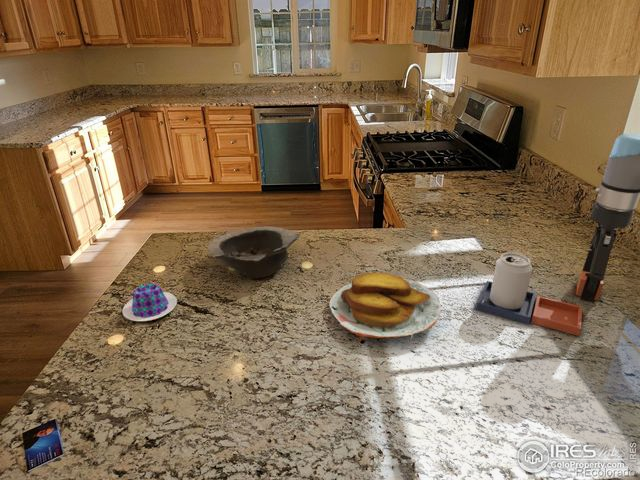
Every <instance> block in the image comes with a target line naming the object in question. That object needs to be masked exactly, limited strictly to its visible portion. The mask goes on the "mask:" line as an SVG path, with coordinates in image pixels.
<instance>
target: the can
mask: <svg viewBox="0 0 640 480" xmlns="http://www.w3.org/2000/svg"><path fill="white" fill-rule="evenodd" d="M532 272H533V266H532V264H531V259H530V258H529V257H527V256H526V255H524V254H521V253H517V252H504V253H502V254H501V255H500V257H499V258H497V260H496V262H495V268H494V272H493V277H492V281H491V282H492V287H491V292H490V300H491V301H492V302H493V303H494V304H495V305H496V306H497V307H499V308H503V309H506V310H516V309H519V308H521V307H522V306H523V305H524V302H525V297H526V293H527V291H528V289H529V284H530V281H531V276H532Z"/></svg>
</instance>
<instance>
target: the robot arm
mask: <svg viewBox="0 0 640 480" xmlns="http://www.w3.org/2000/svg"><path fill="white" fill-rule="evenodd" d="M595 193H597V197H596V200H595V201H596V203H595V202H594V204H593V208H592V210H591V214H590V219H591V220H592V221H593V222H594V223H596V224H597V225H595V228H594V233H593V235H592V238H591V240H590V242H589V243H590V246H589V250H588V252H587V255H586V258H585V261H584V263H583V267H582V270H581V271H585V272H590V273H586V274H585V276H587V278H586V281H585V284H584V287H583V290H582V293H581V296H579V300H580V301H584V302H587V303H591V304H594V302H595V300H594V299H595V296H596V294H597V291H598V288H599V285H600V282H601V281H603V282H604V280H605V273H606V270H607V267H608V264H609V259H610V256H611V253H612V249H613V246H614V242H615V241H616V239H617V235H618V233H617V229H623V228H624V229H625V228H627V227H629V226H630V224H631V222H632V219H633V216H634V213H635V209H636V208H637V207H638V203H639V200H640V133H623V134H621V135H619V136H617V137H616V139H615V141H614V144H613V146H612V149H611V152H610V154H609V156H608V159H607V162H606V167H605V170H604V173H603V177H602V180H601V183H600V187H597V188H595Z"/></svg>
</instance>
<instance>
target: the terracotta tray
mask: <svg viewBox="0 0 640 480" xmlns="http://www.w3.org/2000/svg"><path fill="white" fill-rule="evenodd" d="M534 304H535V305H534V307H533V308H534V309H533V311H532V312H533V313H532V317H531V321H530V322H531V324H534V325H538V326H542V327H545V328H549V329H553V330H557V331H560V332H563V333H567V334H570V335H574V336H577V337H579V336H580V333H581V330H582V318H583V306H579V305H577V304H572V303H570V302H569V303H568V302H565V301H561V300H556V299H554V298H553V299H552V298H549V297H545V296H541V295H537V297H536V300H535V303H534Z"/></svg>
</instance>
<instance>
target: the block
mask: <svg viewBox="0 0 640 480" xmlns="http://www.w3.org/2000/svg"><path fill="white" fill-rule="evenodd" d="M586 273H590V272H585V271H582V270H581V272H580V275H579V279H578V282H577V285H576V293H575V295H576V296H577V297H580V296H581V293H582V290H583V287H584V284H585V281H586V278H587V276H585V274H586ZM603 287H604V280H603V281H601V282H600V285H599V288H598V291H597V294H596V296H595V299H594V301H599V299H600V296H601V293H602V290H603Z"/></svg>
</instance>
